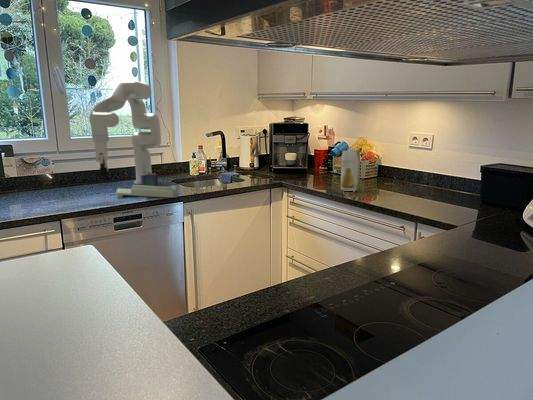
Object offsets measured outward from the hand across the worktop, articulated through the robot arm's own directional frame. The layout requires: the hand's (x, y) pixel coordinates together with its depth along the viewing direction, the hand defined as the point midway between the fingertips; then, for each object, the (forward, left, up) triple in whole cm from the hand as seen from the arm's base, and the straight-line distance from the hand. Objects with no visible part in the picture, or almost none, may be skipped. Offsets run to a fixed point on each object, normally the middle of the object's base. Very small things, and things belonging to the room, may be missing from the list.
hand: (104, 174), depth 208 cm
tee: (0, 0, -13) cm, 13 cm away
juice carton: (+18, +130, -13) cm, 132 cm away
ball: (0, 0, +1) cm, 1 cm away
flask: (-19, +22, -13) cm, 32 cm away
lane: (0, +19, -13) cm, 23 cm away
